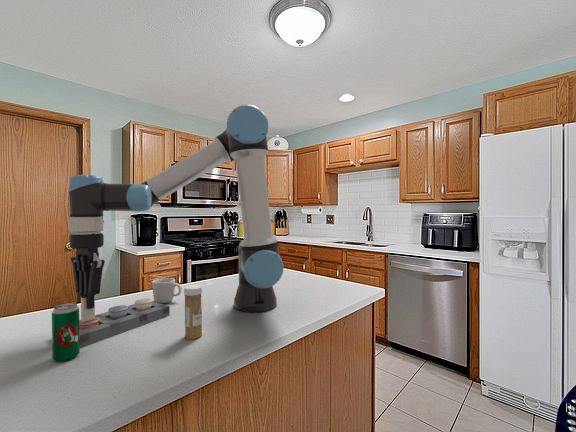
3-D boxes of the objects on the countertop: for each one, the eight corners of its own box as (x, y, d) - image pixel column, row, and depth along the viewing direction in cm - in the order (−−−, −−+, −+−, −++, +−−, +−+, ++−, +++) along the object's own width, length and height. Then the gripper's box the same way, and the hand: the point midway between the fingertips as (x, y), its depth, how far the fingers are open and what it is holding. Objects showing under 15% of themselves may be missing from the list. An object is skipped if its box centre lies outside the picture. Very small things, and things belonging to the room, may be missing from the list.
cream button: (155, 309, 94) (155, 299, 94) (141, 313, 90) (141, 304, 90) (146, 306, 96) (146, 297, 96) (131, 311, 92) (131, 301, 92)
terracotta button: (103, 330, 80) (103, 319, 80) (83, 336, 76) (83, 325, 76) (93, 326, 83) (93, 315, 83) (73, 332, 78) (73, 321, 78)
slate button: (131, 316, 87) (131, 306, 87) (114, 322, 83) (114, 311, 83) (122, 313, 90) (121, 304, 89) (105, 319, 85) (104, 309, 85)
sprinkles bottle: (201, 338, 77) (201, 288, 77) (183, 340, 76) (182, 289, 76) (202, 331, 81) (202, 283, 81) (185, 333, 80) (185, 284, 80)
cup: (186, 298, 112) (185, 278, 112) (176, 305, 104) (175, 283, 104) (159, 298, 113) (159, 277, 113) (147, 304, 105) (147, 282, 105)
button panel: (169, 315, 94) (169, 306, 94) (79, 348, 72) (78, 336, 72) (146, 309, 100) (146, 300, 100) (56, 337, 78) (56, 326, 78)
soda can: (62, 352, 70) (61, 302, 69) (84, 351, 70) (83, 302, 70) (46, 363, 65) (45, 309, 64) (70, 362, 65) (69, 309, 65)
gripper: (114, 232, 79) (115, 319, 79) (89, 231, 85) (90, 311, 86) (83, 234, 72) (84, 329, 73) (59, 232, 79) (60, 319, 79)
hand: (88, 319), depth 79 cm, fingers closed
